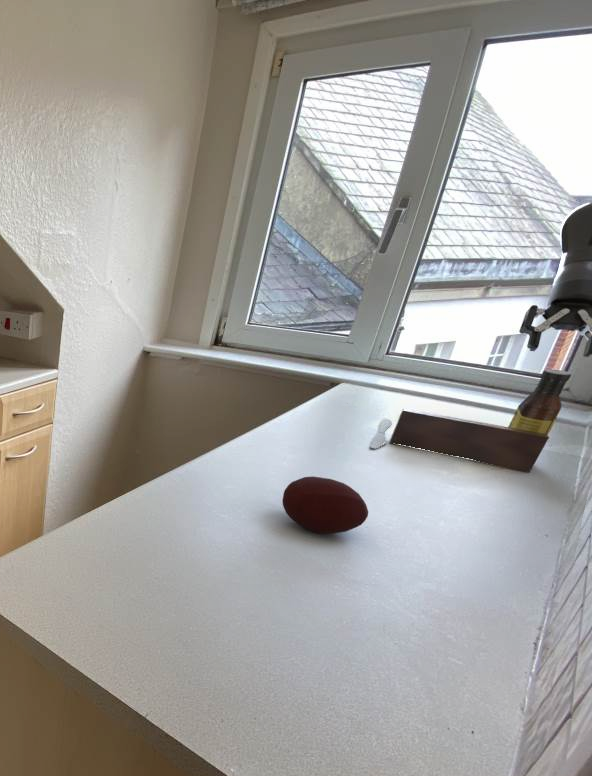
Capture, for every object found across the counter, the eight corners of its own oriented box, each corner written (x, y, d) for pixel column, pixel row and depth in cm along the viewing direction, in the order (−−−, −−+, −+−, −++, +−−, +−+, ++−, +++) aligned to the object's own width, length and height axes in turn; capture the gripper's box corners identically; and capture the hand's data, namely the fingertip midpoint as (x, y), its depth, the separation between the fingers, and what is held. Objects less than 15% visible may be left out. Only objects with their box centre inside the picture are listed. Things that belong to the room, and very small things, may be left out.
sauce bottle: (509, 453, 123) (555, 367, 114) (540, 465, 118) (590, 375, 109) (485, 455, 122) (529, 367, 113) (515, 466, 117) (564, 375, 108)
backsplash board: (527, 469, 116) (547, 434, 112) (529, 472, 114) (549, 437, 110) (389, 440, 128) (403, 408, 125) (389, 443, 127) (403, 410, 123)
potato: (260, 514, 94) (274, 470, 90) (306, 504, 98) (321, 462, 94) (323, 550, 84) (341, 502, 81) (370, 537, 88) (391, 491, 84)
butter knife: (396, 420, 140) (383, 417, 141) (381, 450, 122) (366, 445, 123) (395, 422, 140) (382, 419, 142) (380, 452, 122) (365, 448, 124)
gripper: (540, 275, 122) (524, 339, 120) (633, 280, 115) (617, 347, 113) (525, 295, 129) (509, 356, 126) (611, 301, 122) (596, 365, 119)
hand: (560, 352), depth 120 cm, fingers open, 8 cm apart
